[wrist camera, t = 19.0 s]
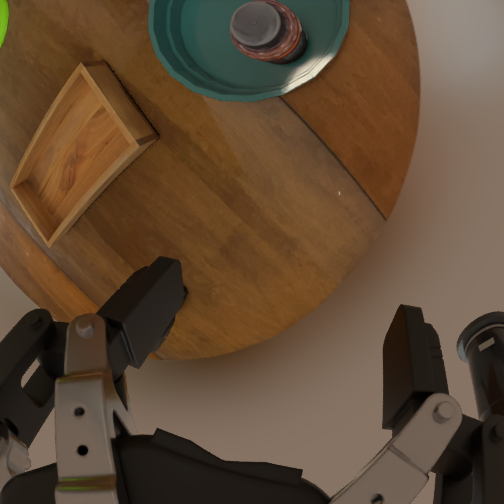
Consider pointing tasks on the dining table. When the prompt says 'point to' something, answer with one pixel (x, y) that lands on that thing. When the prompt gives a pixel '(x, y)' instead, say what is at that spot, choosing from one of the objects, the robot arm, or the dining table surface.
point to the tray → (79, 149)
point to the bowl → (234, 61)
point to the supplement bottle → (268, 32)
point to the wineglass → (3, 19)
